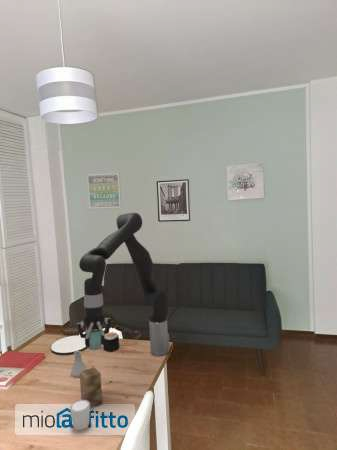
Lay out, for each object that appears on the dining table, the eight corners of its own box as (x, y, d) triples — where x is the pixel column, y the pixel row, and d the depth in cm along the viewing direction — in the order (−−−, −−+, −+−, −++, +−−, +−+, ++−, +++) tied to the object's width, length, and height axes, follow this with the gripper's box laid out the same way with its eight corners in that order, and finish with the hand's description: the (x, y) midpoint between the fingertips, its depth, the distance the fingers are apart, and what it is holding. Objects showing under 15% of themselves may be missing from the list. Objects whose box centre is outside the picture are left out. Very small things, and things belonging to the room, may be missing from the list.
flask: (82, 378, 140) (81, 357, 139) (67, 377, 141) (66, 356, 140) (89, 369, 147) (88, 349, 146) (75, 368, 148) (74, 348, 147)
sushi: (111, 343, 173) (110, 329, 173) (122, 347, 169) (121, 333, 168) (100, 349, 167) (99, 335, 166) (111, 353, 162) (110, 338, 161)
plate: (84, 355, 162) (84, 351, 162) (44, 356, 162) (44, 353, 162) (94, 337, 183) (94, 334, 182) (59, 339, 183) (59, 336, 183)
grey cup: (73, 418, 113) (72, 400, 113) (92, 416, 114) (91, 398, 113) (69, 432, 107) (67, 412, 106) (89, 430, 107) (88, 410, 107)
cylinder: (99, 343, 129) (99, 327, 129) (102, 348, 125) (102, 331, 125) (87, 346, 127) (87, 329, 127) (89, 351, 123) (89, 333, 122)
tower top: (94, 381, 127) (93, 366, 126) (101, 387, 122) (100, 372, 121) (80, 386, 123) (79, 372, 122) (86, 393, 118) (86, 378, 118)
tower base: (98, 394, 127) (97, 380, 127) (102, 404, 121) (101, 389, 121) (81, 399, 124) (80, 385, 124) (84, 409, 118) (83, 394, 118)
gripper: (109, 299, 132) (110, 338, 132) (74, 304, 126) (75, 345, 126) (113, 304, 125) (114, 345, 126) (76, 309, 119) (78, 352, 120)
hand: (94, 345), depth 126 cm, fingers closed on cylinder, 5 cm apart
